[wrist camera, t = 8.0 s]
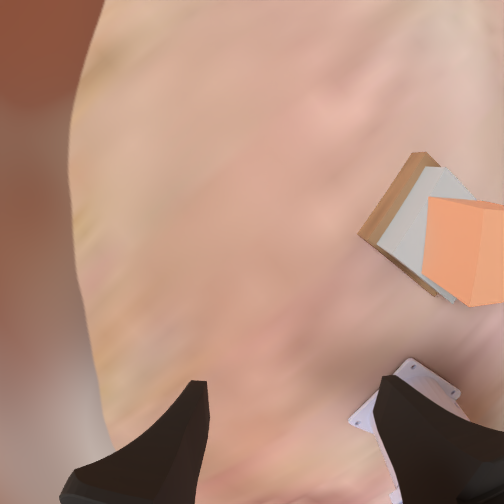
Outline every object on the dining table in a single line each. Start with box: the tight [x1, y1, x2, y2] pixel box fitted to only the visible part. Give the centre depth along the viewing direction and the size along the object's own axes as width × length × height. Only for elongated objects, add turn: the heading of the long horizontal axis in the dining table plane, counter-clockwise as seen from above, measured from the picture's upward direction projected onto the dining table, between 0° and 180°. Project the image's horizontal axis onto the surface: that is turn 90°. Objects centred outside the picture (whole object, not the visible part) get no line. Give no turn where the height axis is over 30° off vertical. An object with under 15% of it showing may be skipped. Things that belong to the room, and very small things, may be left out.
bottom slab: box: [357, 152, 441, 297], centre depth 20 cm, size 7×7×2 cm
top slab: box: [377, 167, 477, 304], centre depth 17 cm, size 6×6×2 cm
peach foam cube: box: [421, 197, 504, 307], centre depth 14 cm, size 4×4×5 cm
